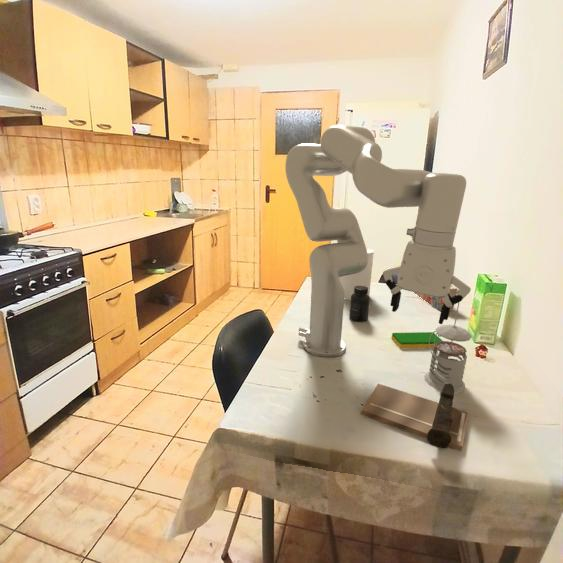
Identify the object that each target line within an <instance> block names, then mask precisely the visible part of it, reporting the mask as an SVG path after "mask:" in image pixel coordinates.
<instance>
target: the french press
mask: <svg viewBox="0 0 563 563" xmlns="http://www.w3.org/2000/svg"><path fill="white" fill-rule="evenodd" d="M459 293H460V289H458V288H457V291H456V295H457V294H459ZM459 307H460V302H458V303H457V308H456V314H455V318H454V324H441V325H439V326H437V327H435V331H431V332H432V334H433V333H435V334H436V335H437V336H438V337H439V338H441V337H442V338H444V339H446V340H442V341H439V342H437V343H436V344H435V339H436V335H435V339H434V345H435V346H436V347H435V348H430V338H429V348H428V349H429V351H430V354H431V359H430V365H429V371H428V372H426V373H425V374H424V375H423V376H424V377H423V378H424V381H425V382H426V383H427V384H428V385H429V386H431V388H434V389H436V390H439V391H442V389H443V387H444V385H445V384H452V385H453V387H454V394H455V393H461V392H464V390H465V389H466V387H465V386H466V384H465V382H464V380H463V378H464V374H465V369H466V363H467V358H468V356H467V354H466V353H467V349H466V347H464V346H463V345H461V344H459V343H460V342H461V343H462V342H468V341H470V340H471V339H472V333H470V332H469V331H468V330H467V329H466V328H463V327H461V326H458V325H456V323H457V317H458V312H459ZM432 334H431V335H430V337H431V336H432ZM448 340H450V341H448ZM456 342H459V343H456ZM438 351H439V352H438ZM451 357H452V358H451ZM453 357H454V358H453ZM456 358H457V359H456ZM458 359H459V360H458Z"/></svg>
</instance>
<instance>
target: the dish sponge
mask: <svg viewBox="0 0 563 563" xmlns="http://www.w3.org/2000/svg"><path fill="white" fill-rule="evenodd" d="M432 332H433V331H426V332H425V331H422V332H421V331H420V332H419V331H418V332H417V331H416V332H415V331H413V332H392V333H391V338H392V339H391V340H392V341H393V342H394V343H395V345H396V346H397V347H398V348H399V349H401V348H403V349H404V348H406V349H429V338H430V349H433V348H435V347H436V346H435V345H434V339H435V335H436V334H437V333H436V332H434V333H433V334H432ZM431 334H432V336H431V337H430V335H431ZM439 341H443V339H441V337H439V336H438V334H437V335H436V339H435V344H436V343H437V342H439Z"/></svg>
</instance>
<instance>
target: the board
mask: <svg viewBox="0 0 563 563" xmlns="http://www.w3.org/2000/svg"><path fill="white" fill-rule="evenodd" d="M438 404H439V401H438V402H437V401H434V400H432V399H431V400H430V399H428V398H424V397H421V396H418V395H415V394H412V393H410V392H409V393H408V392H406V391H402V390H399V389H396V388H393V387H391V386H387V385H384V384H381V383H377V384H376V386H375V388H374V389H373V390H372V392H371V394H370V396H369V397H368V399H367V401H366V402H365V403H364V405H363V407H362V409H361V410H360V412H361V413H360V414H361V415H362V416H365V417H367V418H370V419H373V420H375V421H378V422H380V423H383V424H387V425H389V426H392V427H394V428H397V429H399V430H402V431H406V432H407V433H410V434H413V435H416V436H418V437H421V438H424V439H425V440H427V435H428V432H429V430H430V429H431V428H432V425H433V421H434V417H435V414H436V410H437V407H438ZM468 416H469V412H468V411H465V410H462V409H460V408H456V407H453V406H452V413H451V418H452V420H453V422H452V424H451V429H450V436H451V443H449V446H448V448H451V449H453V450H456V451H459V452H462V450H463V445H464V441H465V440H464V439H465V434H466V427H467V422H468Z"/></svg>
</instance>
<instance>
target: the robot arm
mask: <svg viewBox="0 0 563 563" xmlns="http://www.w3.org/2000/svg"><path fill="white" fill-rule="evenodd" d="M382 159H383V151H382V148H381V147H380V145H379V144H378V143H377V142H376V139H375V137H374V134H373V133H372V131H370V130H369V129H368V128H366V127H363V126H353V125H344V124H336V125H331V126H330V127H328V128H327V129H326V130H325V131H324V132H323V133H322V135H321V138H320V142H319V144H318V143H300V144H297V145H294V146H292V148H290V150H289V151H288V153H287V155H286V159H285V176H286V179H287V183H288V185H289V188H290V190H291V192H292V194H293V196H294V198H295V200H296V203H297V207H298V211H299V215H300V217H301V221H302V223H303V227H304V231H305V234H306V236H307V238H308V239H309V240H310V241H312V242H318V243H319V242H330V241H331V242H332V241H336V242H335V243H334V242H333V243H326V244H321V245H318V246H316V247H315V248H314V249H313V250H312V251H311V252H310V255H309V260H308V264H309V270H310V279H311V281H310V282H311V288H310V290H311V292H310V295H311V296H310V298H311V299H310V315H309V328H307V327H303V326H300V327H299V328H298V336H299V337H303V338H305V339H304V341H303V347H304V348H303V349H305V351H307V352H308V353H309V354H312V355H314V356H317V357H325V358H326V357H327V358H328V357H329V358H330V357H337V356H340V355H342V354H343V353H344V352H346V350H347V349H346V348H347V345H346V343H345V341H344V340H342V333H343V332H342V330H343V320H344V318H343V317H344V306H345V299H344V288H343V286H342V284H341V282H340V280H339V277H341V276H345V275H351V274H356V273H359V272H362V271H363V270H364V269H365V268H366V266H367V263H368V254H367V249H366V248H367V247H366V244H365V241H364V237H363V234H362V231H361V226H360V225H359V224H360V223H359V221H358V219H357V217H356V215H355V214H354V213H353V212H352V210H350V209H349V208H346V207H333V206H331V205H330V204H329V202H328V199H327V194H326V192H325V190H324V189H323V187H322V185H320V183H319V182H318V181H316V180H315V178H314V176H315V177H316V176H317V177H319V176H322V177H334V176H335V177H336V176H339V175H341V174H344V173H345V172H348V173H349V174H351V175H352V180H353V183H354V186H355V188H356V189H357V191H358V192H359V193H360V194H362V195H363V196H364V197H365V198H367V199H369V200H370V201H372V202H373V203H374V204H376V205H378V206H381V207H383V208H387V209H388V208H389V209H390V208H391V209H392V208H412V207H413V208H415V207H417V208H418V209H417V216H416V221H415V226H414V227H413V228H407V229H406V234H405V235H407V236H409V237H411V240H409V241H408V242H407V244H406V246H405V249H404V252H403V255H402V260H401V263H400V265H399V266H396V267H391V268H388V269H384V270H383V271H382V276H383V278H384V280H385V284H386V286H387V288H388V289H389V290H390V293H391V300H390V307H392V308H391V312H393V313H395V312H397V311H398V309H399V307H400V301H401V296H402V291H401V290H403V291H407V292H412V293H413V292H415V293H420V294H424V295H428V296H433V297H438V298H441V299H442V300H443V302H444V304H443V306H442V310H441V311H440V314H439V320H438V323H439V324H440V325H443V323H444V321H447V320H448V319H449V316H450V311H451V310H450V308H451V306H452V305H454V306H455V305H456V304H458V302H459V303H460V302H462V301H463V300H464V299H465V298H466V297H467V296H468V295H469V294H470V292H471V287H470V286H469V285H467V284H466V283H465V282H463V281H462V280H460V279H459V278H458V277H456V276H455V275H454V273H455V266H456V256H457V255H456V253H457V251H456V250H457V249H456V247H455V246H454V243H455V242H454V241H455V237H456V233H457V228H458V224H459V218H460V216H461V211H462V206H463V202H464V197H465V192H466V188H467V179H466V177H464V176H463V175H461V174H455V173H454V174H453V173H446V172H445V173H443V172H432V171H427V170H424V169H408V168H407V169H405V168H392V167H389V166H387V165H385V164H383V163H382V162H381V161H382ZM397 274H398V275H397ZM393 275H397V280H396V282H397V283H396V282H395V281H394V279H393V277H392V276H393ZM451 285H452V286H454V287H456V288H457V290H458V289H460V293H459V294H456V295H455V296H453V297H452V296H451V294H450V293H449V290H450V288H451Z"/></svg>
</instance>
